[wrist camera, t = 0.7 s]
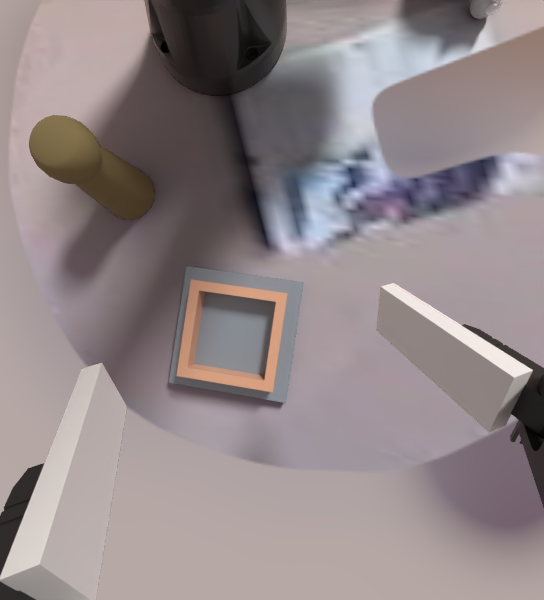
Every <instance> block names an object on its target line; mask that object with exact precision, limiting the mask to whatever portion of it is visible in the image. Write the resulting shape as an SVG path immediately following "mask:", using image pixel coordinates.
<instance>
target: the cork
mask: <svg viewBox="0 0 544 600" xmlns="http://www.w3.org/2000/svg"><path fill="white" fill-rule="evenodd" d="M29 148H30V153H31V155H32V157H33V159H34V161H35V162H36V164H37V166H38V167H39V168H41V169H42V170H43V171H44V172H45V173H46V174H47V175H48V176H50V177H52V178H54V179H56V180H58V181H61V182H64V183H68V184H76V185H77V186H78V187H79V188H81V189H82V190H83V191H85V192H86V193H87V194H88V195H90V196H91V197H92V198H94V199H95V200H96V201H97V202H99V203H100V204H101V205H103V206H104V207H105V208H107V209H108V210H109V211H110V212H112V213H113V214H114V215H116V216H117V217H120V218H122V219H128V220H132V219H136V218H139V217H141V216H142V215H144V214H145V213H146V212H147V211H148V210H149V209H150V208H151V206H152V203H153V201H154V194H155V190H154V186H153V183H152V181H151V180H150V178H149V177H148V176H147V175H146V174H145V173H144V172H142V171H141V170H139V169H137V168H136V167H134V166H133V165H131V164H129V163H128V162H126V161H124V160H123V159H121V158H119V157H118V156H116V155H115V154H113V153H111V152H110V151H108V150H106V149H105V148H103V147H102V146H100V144H99V142H98V140H97V139H96V137H95V136H94V134H93V133H92V132H91V131H90V130H89V129H88V128H87V127H86V126H84V125H83V124H82V123H81V122H79V121H77V120H75V119H73V118H70V117H67V116H57V115H53V116H49V117H46V118H44V119H43V120H41V121H40V122H38V123H37V125H36V126H35V127H34V128H33V130H32V133H31V135H30V140H29Z"/></svg>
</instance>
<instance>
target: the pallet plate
mask: <svg viewBox="0 0 544 600" xmlns="http://www.w3.org/2000/svg"><path fill="white" fill-rule="evenodd" d="M303 283H304V282H298V281H291V280H284V279H276V278H269V277H262V276H255V275H248V274H241V273H234V272H227V271H220V270H213V269H206V268H198V267H191V266H186V271H185V278H184V285H183V291H182V298H181V304H180V311H179V318H178V324H177V331H176V337H175V344H174V351H173V357H172V364H171V370H170V377H169V383H173V384H179V385H185V386H190V387H196V388H202V389H208V390H214V391H219V392H225V393H231V394H237V395H242V396H248V397H254V398H260V399H266V400H271V401H277V402H283V403H286V399H287V392H288V385H289V378H290V371H291V365H292V358H293V351H294V344H295V337H296V330H297V324H298V317H299V310H300V303H301V296H302V289H303Z"/></svg>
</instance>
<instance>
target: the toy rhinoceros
mask: <svg viewBox="0 0 544 600" xmlns="http://www.w3.org/2000/svg"><path fill="white" fill-rule="evenodd" d="M500 2H501V0H471V3H470V12H471V15H472V16H473V17H474V18H477V19H482V18H485V17H487V16H488V15H492V14H494V13H496V12H497V11H498V9H499V8H500V6H501V4H502V2H501V3H500Z"/></svg>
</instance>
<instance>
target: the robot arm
mask: <svg viewBox="0 0 544 600" xmlns="http://www.w3.org/2000/svg"><path fill="white" fill-rule="evenodd" d="M144 1H145V6H146V11H147V16H148V22H149V27H150V32H151V35H152V38H153V41H154V44H155V46H156V49H157V50H158V52H159V54H160V56H161V58H162V60H163V62H164V64H165V66H166V67H167V69H168V70H169V72H170V73H171V74H172V75H173V76H174V78H175V79H177V80H178V81H179V82H180V83H181V84H183V85H184V86H186V87H188V88H190V89H192V90H194V91H196V92H200V93H203V94H209V95H226V94H232V93H236V92H239V91H242V90H244V89H246V88H248V87H250V86H252V85H254V84H255V83H257V82H258V81H259V80H261V79H262V78H263V77H264V76H265V75H266V74H267V73H268V72H269V71H270V70H271V68H272V67H273V66H274V64H275V63H276V61H277V60H278V58H279V56H280V54H281V52H282V49H283V46H284V43H285V39H286V32H287V13H286V0H144ZM376 330H377V331H378V332H379V333H380V334H381V335H382V336H383V337H384V338H386V339H387V340H388V341H389V342H390V343H391V344H392V345H393V346H394V347H395V348H397V349H398V350H399V351H400V352H401V353H402V354H403V355H404V356H405V357H406V358H408V359H409V360H410V361H411V362H412V363H413V364H414V365H415V366H416V367H418V368H419V369H420V370H421V371H422V372H423V373H424V374H425V375H426V376H427V377H429V378H430V379H431V380H432V381H433V382H434V383H435V384H436V385H437V386H438V387H440V388H441V389H442V390H443V391H444V392H445V393H446V394H447V395H448V396H450V397H451V398H452V399H453V400H454V401H455V402H456V403H457V404H458V405H459V406H461V407H462V408H463V409H464V410H465V411H466V412H467V413H468V414H469V415H470V416H472V417H473V418H474V419H475V420H476V421H477V422H478V423H479V424H480V425H482V426H483V427H484V428H485V429H486V430H487V431H488V432H491V431H493V430H496V429H498V428H500V427H503V426H505V425H506V424H507V422H508V420H509V418H510V416H511V414H512V415H513V416H515V417H516V418H517V419H519V421H518V423H517V424H516V426H515V428H514V430H513V432H512V434H511V441H512V442H515V440H516V438H517V436H518V435H519V434H520V437H521V441H520V444H523V446H524V449H525V452H526V455H527V458H528V461H529V464H530V467H531V470H532V473H533V476H534V480H535V483H536V486H537V489H538V492H539V495H540V498H541V501H542V504H543V507H544V368H543V367H541V366H539V365H538V364H536V363H534V362H533V361H531V360H529V359H528V358H526V357H524V356H523V355H521V354H519V353H518V352H516V351H514V350H513V349H511V348H509V347H508V346H506V345H503V344H502V343H501V342H500V341H498V340H496V339H493V338H492V337H491V336H490V335H488V334H486V333H485V332H483V331H481V330H480V329H477V328H474V327H471V326H468V325H466V324H464V325H460V324H458V323H457V322H455V321H454V320H452V319H450V318H449V317H447V316H446V315H444V314H442V313H441V312H439V311H438V310H436V309H434V308H433V307H431V306H430V305H428V304H426V303H425V302H423V301H422V300H420V299H418V298H417V297H415V296H414V295H412V294H410V293H409V292H407V291H406V290H404V289H402V288H401V287H399V286H398V285H396V284H394V283H392V284H388V285H385V286H381V287H380V298H379V308H378V318H377V329H376ZM126 411H127V406H126V404H125V402H124V401H123V399H122V397H121V395H120V394H119V392H118V390H117V388H116V387H115V385H114V383H113V381H112V380H111V378H110V376H109V374H108V373H107V371H106V369H105V367H104V366H103V364H102V363H100V364H96V365H92V366H89V367H85V368H82V369H81V371H80V374H79V376H78V379H77V382H76V384H75V387H74V389H73V392H72V394H71V397H70V399H69V402H68V405H67V407H66V410H65V412H64V415H63V417H62V420H61V422H60V425H59V428H58V430H57V433H56V435H55V438H54V441H53V443H52V445H51V448H50V451H49V453H48V456H47V458H46V461H45V463H44V464H40V465H37V466H34V467H32V468H28V469H27V471H26V472H25V473H24V475H23V476H22V477H21V478H20V480H19V481H18V482H17V483H16V485H15V486H14V487H13V489H12V491H11V493H10V496H9V498H8V500H7V502H6V504H5V506H4V512H2V513H1V515H0V600H96V596H97V590H98V584H99V578H100V572H101V565H102V559H103V553H104V547H105V541H106V535H107V528H108V522H109V516H110V510H111V504H112V497H113V491H114V485H115V479H116V473H117V466H118V461H119V454H120V448H121V442H122V436H123V430H124V424H125V418H126Z"/></svg>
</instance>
